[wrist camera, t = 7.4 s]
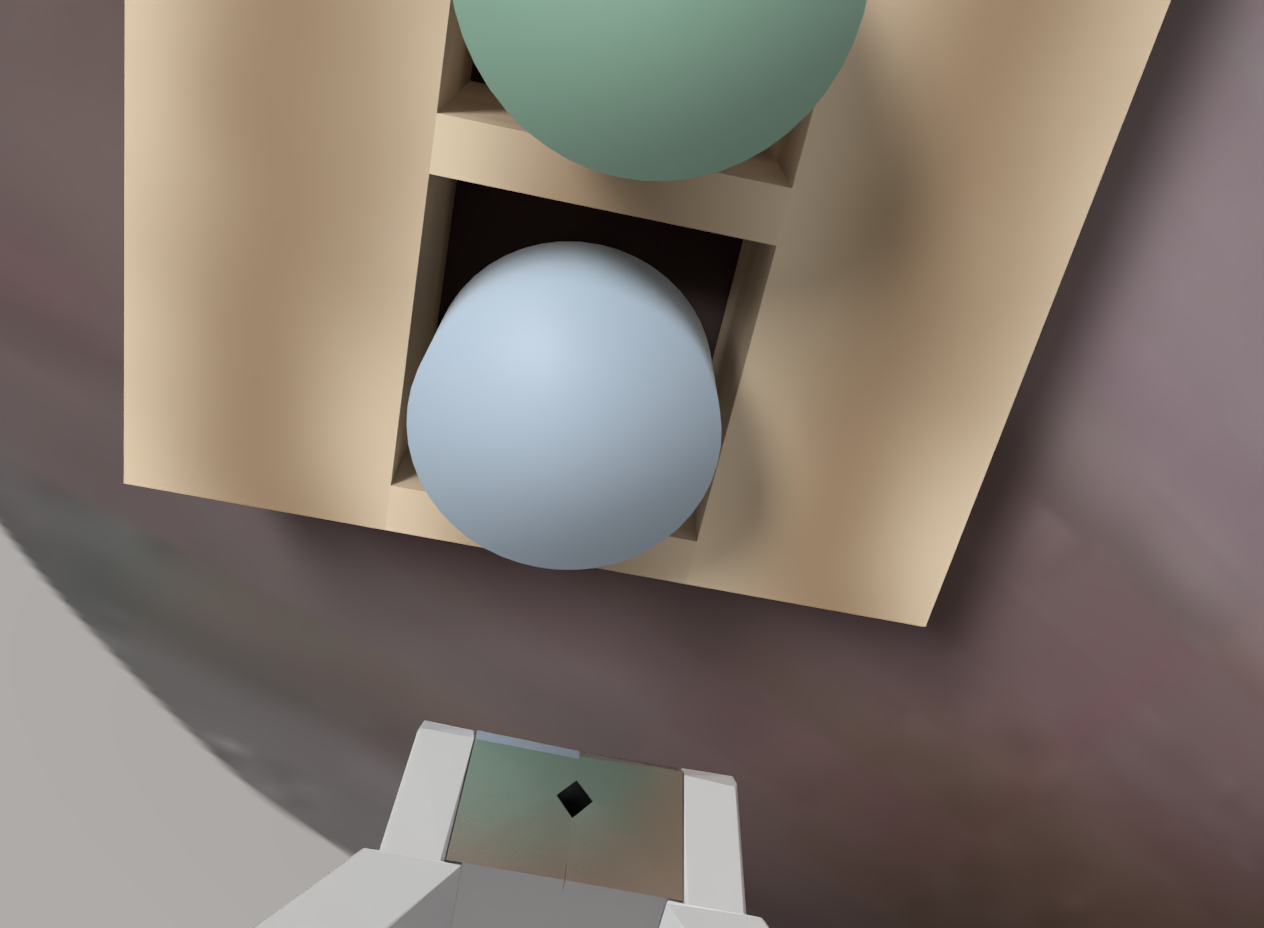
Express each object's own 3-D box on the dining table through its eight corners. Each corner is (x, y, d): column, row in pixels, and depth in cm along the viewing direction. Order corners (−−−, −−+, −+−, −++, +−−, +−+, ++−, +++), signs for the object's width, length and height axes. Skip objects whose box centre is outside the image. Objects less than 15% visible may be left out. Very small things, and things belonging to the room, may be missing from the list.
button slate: (728, 222, 22) (755, 319, 17) (673, 445, 24) (682, 592, 19) (478, 170, 22) (426, 253, 16) (446, 402, 24) (390, 540, 18)
